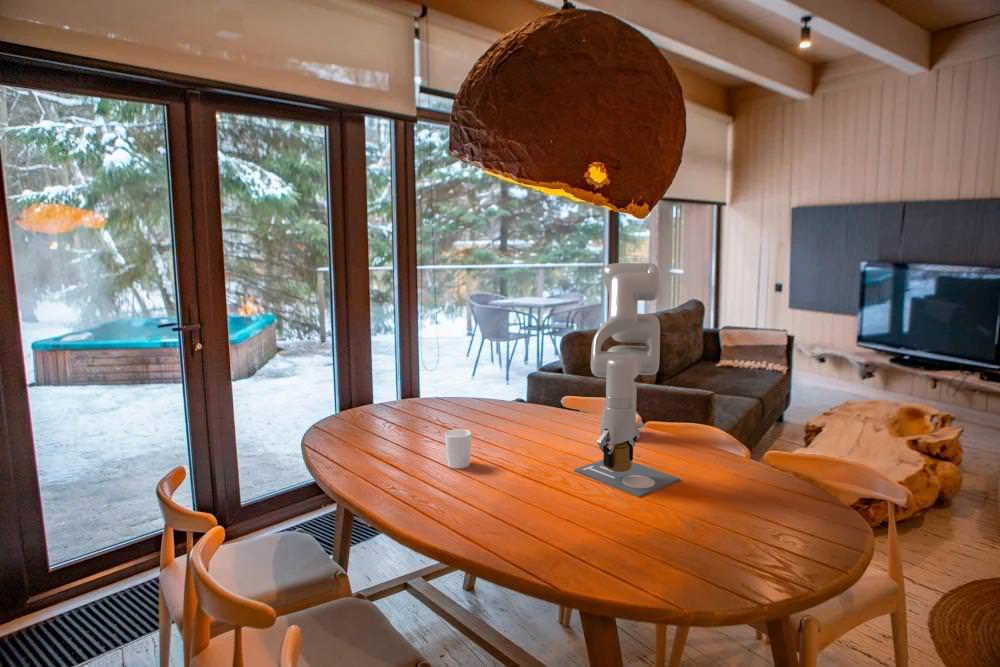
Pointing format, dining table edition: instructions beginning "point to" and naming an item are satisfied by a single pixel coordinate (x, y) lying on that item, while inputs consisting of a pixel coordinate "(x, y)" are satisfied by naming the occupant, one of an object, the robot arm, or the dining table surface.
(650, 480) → the slate board
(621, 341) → the robot arm
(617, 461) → the ornamental finial
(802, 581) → the dining table surface
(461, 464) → the white cup
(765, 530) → the dining table surface
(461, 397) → the dining table surface
